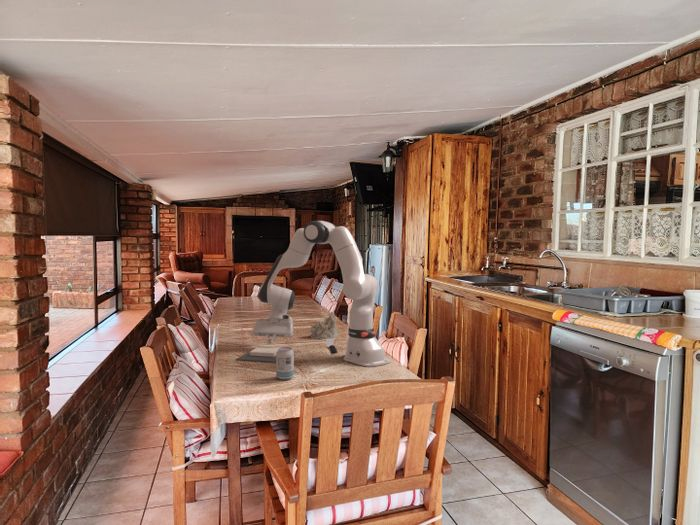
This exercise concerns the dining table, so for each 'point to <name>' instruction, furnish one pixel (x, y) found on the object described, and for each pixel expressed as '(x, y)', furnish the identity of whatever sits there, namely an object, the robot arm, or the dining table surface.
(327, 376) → the dining table surface
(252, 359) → the mat
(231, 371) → the dining table surface
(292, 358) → the beverage can
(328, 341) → the kitchen cleaver
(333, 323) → the jagged grey rock
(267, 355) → the tile
